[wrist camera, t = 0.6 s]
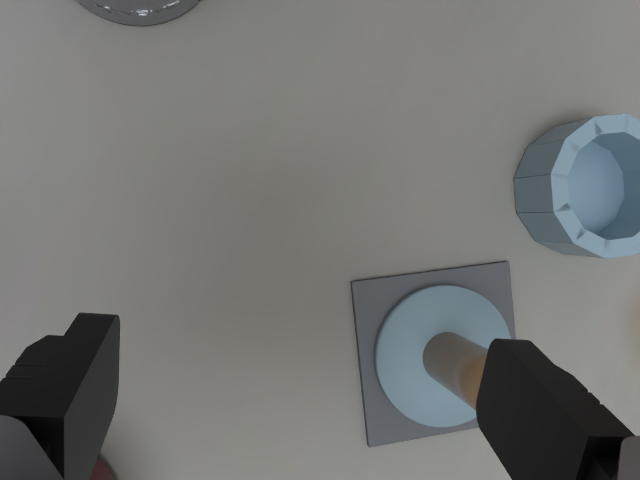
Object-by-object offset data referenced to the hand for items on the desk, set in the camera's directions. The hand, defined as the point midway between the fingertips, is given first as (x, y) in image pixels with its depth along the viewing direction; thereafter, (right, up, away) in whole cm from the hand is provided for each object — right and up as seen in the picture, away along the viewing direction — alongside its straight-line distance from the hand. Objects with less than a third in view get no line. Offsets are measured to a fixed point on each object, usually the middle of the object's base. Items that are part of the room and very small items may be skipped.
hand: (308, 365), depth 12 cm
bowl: (+16, +6, +24) cm, 30 cm away
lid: (+8, -4, +23) cm, 24 cm away
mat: (+8, -4, +23) cm, 24 cm away
